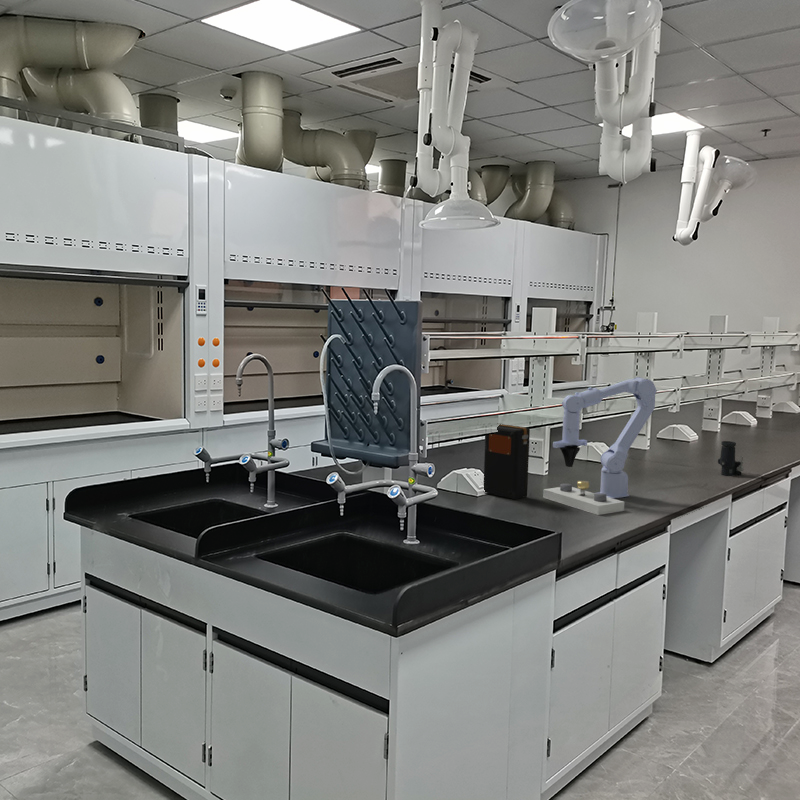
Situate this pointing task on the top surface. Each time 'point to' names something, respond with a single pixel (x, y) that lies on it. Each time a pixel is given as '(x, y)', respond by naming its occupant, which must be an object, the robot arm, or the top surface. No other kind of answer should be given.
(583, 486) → the pot knob
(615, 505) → the mount plate
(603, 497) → the knob
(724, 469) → the scope
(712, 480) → the top surface
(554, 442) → the robot arm
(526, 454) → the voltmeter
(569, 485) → the knob
